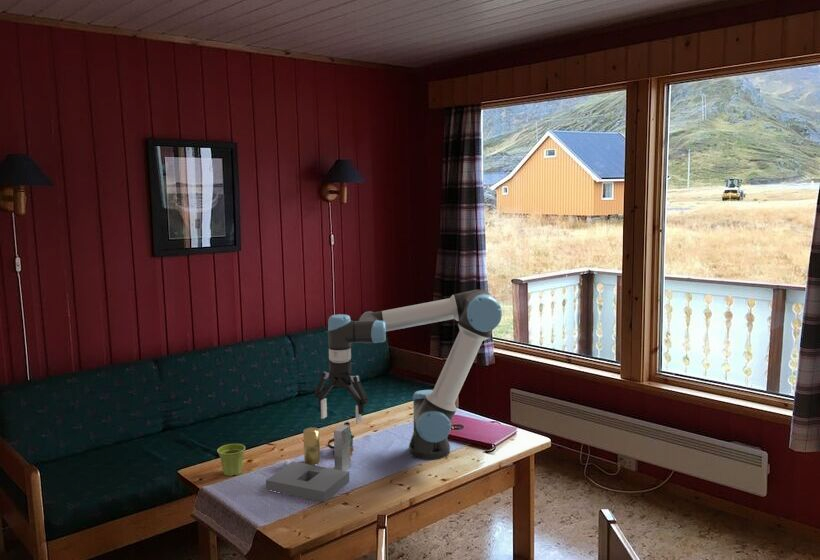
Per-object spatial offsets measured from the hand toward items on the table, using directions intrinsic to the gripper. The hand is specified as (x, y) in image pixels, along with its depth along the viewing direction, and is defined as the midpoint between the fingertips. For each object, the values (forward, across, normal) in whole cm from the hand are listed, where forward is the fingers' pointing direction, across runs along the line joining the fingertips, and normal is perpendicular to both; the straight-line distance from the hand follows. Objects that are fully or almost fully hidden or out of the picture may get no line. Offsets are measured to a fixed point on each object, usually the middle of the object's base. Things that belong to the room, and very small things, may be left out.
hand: (341, 420), depth 235 cm
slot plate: (+18, -4, -16) cm, 24 cm away
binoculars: (+18, -8, +13) cm, 24 cm away
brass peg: (+18, -13, +1) cm, 22 cm away
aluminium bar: (+18, 0, 0) cm, 18 cm away
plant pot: (+18, -34, -17) cm, 42 cm away
